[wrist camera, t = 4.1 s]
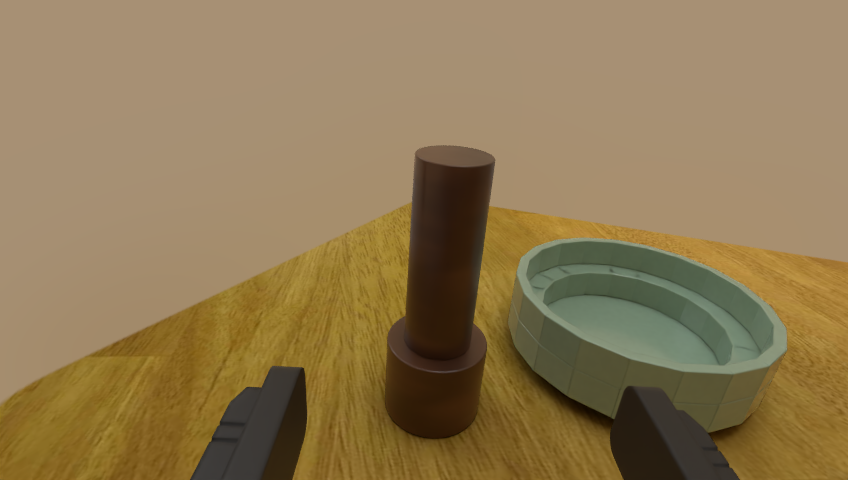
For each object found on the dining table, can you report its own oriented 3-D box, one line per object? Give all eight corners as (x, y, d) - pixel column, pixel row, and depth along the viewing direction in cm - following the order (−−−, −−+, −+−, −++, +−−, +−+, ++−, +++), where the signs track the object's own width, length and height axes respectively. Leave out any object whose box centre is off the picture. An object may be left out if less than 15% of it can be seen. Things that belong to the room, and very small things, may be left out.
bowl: (533, 438, 22) (550, 364, 20) (492, 286, 35) (500, 232, 33) (820, 451, 22) (864, 380, 20) (675, 296, 35) (693, 243, 33)
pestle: (381, 436, 21) (391, 168, 16) (388, 367, 26) (397, 137, 20) (482, 441, 22) (527, 176, 16) (472, 371, 26) (505, 144, 20)
